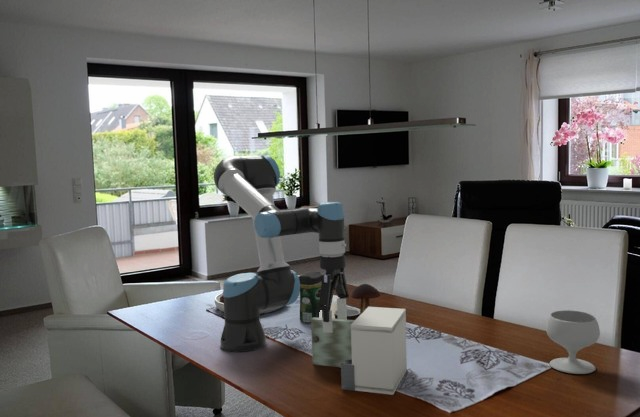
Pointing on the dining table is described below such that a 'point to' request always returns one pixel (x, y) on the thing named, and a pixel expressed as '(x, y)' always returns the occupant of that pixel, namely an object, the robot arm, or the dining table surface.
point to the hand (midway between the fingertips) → (335, 325)
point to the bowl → (220, 304)
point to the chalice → (572, 338)
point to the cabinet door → (331, 342)
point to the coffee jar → (310, 296)
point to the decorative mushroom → (365, 295)
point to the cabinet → (379, 349)
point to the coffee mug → (350, 314)
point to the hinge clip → (347, 375)
